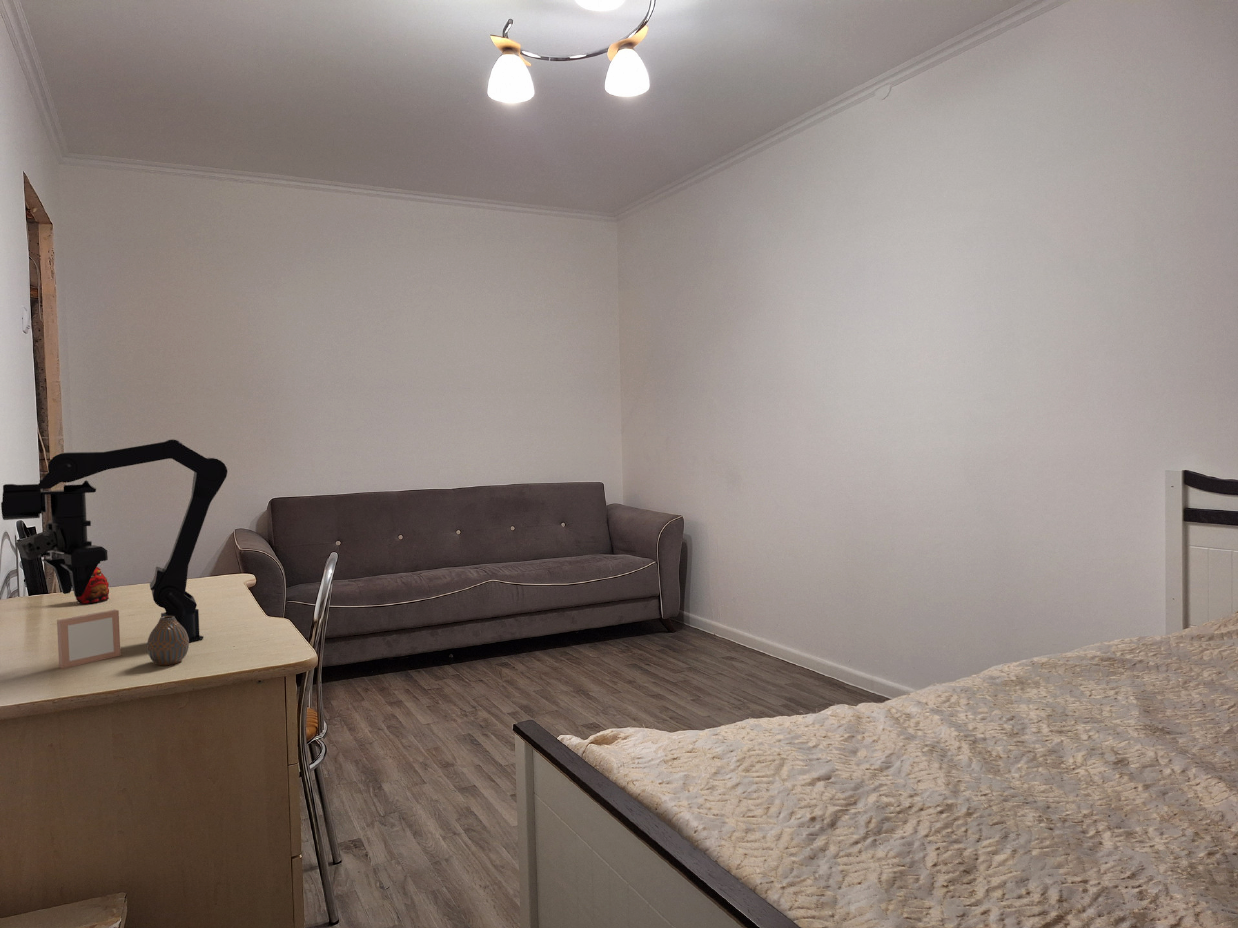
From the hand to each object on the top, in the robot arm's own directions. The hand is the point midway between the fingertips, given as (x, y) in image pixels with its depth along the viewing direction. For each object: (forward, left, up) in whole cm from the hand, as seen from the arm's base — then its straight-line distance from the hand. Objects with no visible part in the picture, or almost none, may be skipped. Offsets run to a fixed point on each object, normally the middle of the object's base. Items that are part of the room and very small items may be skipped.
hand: (72, 595), depth 157 cm
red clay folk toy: (-23, -52, -12) cm, 58 cm away
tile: (0, +7, -12) cm, 14 cm away
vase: (-8, +21, -12) cm, 26 cm away
